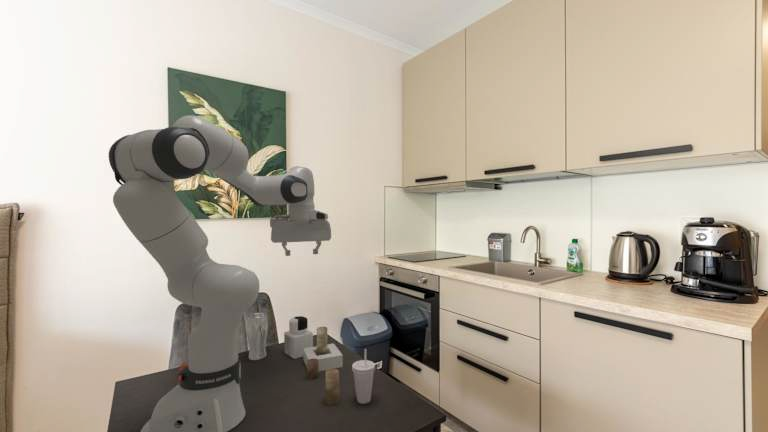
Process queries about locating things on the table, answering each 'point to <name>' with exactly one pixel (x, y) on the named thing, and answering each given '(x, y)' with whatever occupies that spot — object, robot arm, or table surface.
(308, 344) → the container
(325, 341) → the maple pin
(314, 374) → the walnut pin
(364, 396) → the smoothie
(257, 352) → the beer glass
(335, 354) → the socket block
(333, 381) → the oak pin
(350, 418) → the table surface
